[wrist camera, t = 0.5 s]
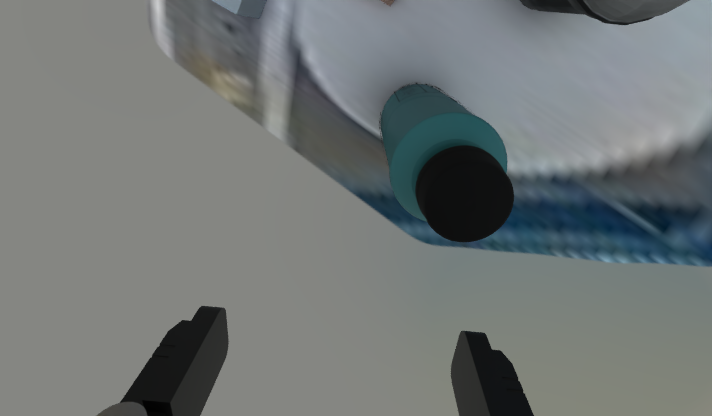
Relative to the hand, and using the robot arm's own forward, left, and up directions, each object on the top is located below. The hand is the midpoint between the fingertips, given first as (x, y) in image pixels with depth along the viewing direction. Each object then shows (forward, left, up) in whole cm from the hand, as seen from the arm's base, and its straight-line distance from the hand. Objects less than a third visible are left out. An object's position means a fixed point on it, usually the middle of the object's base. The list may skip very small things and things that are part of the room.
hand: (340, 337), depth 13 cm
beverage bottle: (-5, +3, -25) cm, 26 cm away
